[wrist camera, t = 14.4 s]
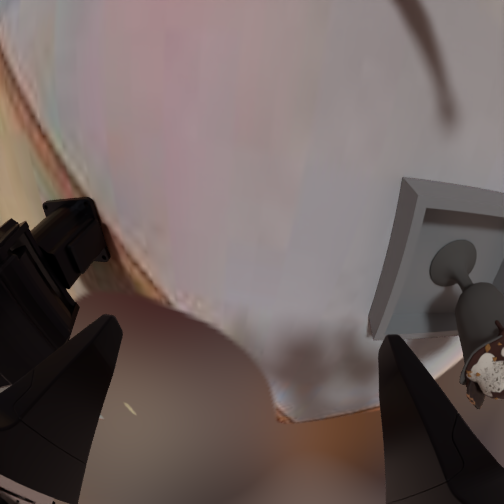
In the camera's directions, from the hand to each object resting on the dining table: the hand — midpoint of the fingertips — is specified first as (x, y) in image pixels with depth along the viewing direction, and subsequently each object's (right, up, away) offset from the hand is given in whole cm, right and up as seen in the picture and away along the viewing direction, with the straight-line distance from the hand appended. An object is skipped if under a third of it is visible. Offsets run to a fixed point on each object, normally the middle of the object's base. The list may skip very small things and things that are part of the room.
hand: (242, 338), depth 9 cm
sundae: (+17, +2, +12) cm, 21 cm away
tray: (+18, +2, +12) cm, 21 cm away
